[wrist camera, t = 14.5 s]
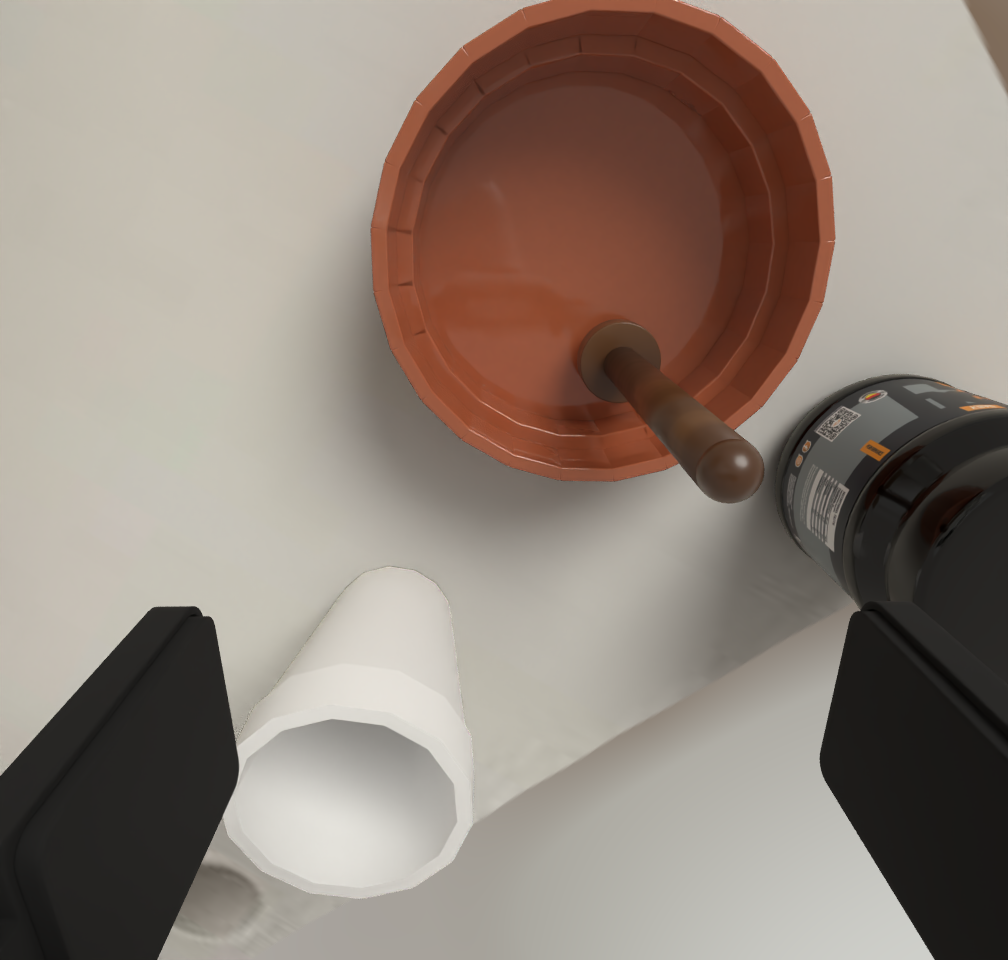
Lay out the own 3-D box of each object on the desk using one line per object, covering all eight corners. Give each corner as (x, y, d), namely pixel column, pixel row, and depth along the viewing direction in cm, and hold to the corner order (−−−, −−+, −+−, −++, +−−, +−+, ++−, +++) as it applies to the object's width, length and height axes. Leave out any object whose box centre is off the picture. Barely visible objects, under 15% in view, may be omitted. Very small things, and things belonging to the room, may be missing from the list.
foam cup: (482, 682, 38) (478, 892, 26) (323, 690, 38) (246, 904, 26) (472, 535, 35) (463, 697, 23) (298, 544, 35) (195, 711, 23)
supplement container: (1000, 492, 34) (1246, 616, 23) (818, 593, 36) (965, 753, 25) (924, 325, 31) (1168, 375, 20) (730, 446, 33) (853, 553, 22)
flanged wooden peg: (566, 335, 30) (644, 437, 15) (643, 307, 29) (802, 383, 14) (590, 407, 31) (684, 571, 16) (663, 381, 30) (831, 523, 15)
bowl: (315, 253, 30) (274, 257, 24) (602, -65, 26) (634, -149, 20) (566, 504, 34) (581, 557, 29) (842, 267, 30) (922, 274, 25)
